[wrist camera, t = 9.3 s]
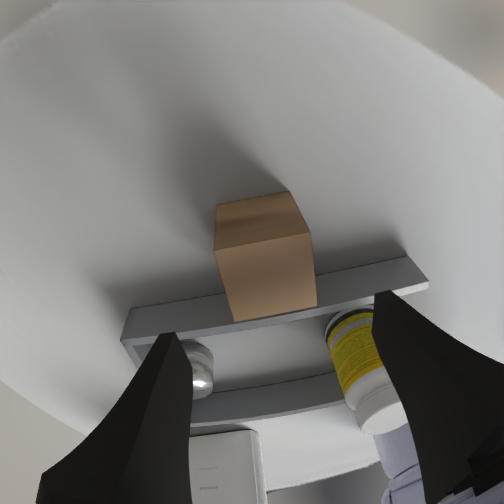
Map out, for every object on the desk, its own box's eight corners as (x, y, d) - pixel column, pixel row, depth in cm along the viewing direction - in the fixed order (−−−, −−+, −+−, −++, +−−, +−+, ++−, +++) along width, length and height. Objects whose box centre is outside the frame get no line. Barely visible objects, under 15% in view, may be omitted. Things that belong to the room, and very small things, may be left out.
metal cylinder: (218, 368, 24) (218, 396, 22) (176, 373, 24) (173, 401, 22) (205, 338, 22) (204, 367, 20) (160, 344, 23) (154, 373, 20)
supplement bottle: (311, 338, 23) (337, 436, 16) (350, 293, 21) (396, 390, 14) (356, 353, 24) (388, 439, 17) (394, 313, 23) (441, 399, 15)
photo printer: (255, 424, 29) (265, 535, 19) (264, 440, 31) (275, 539, 21) (164, 435, 30) (157, 536, 19) (180, 450, 32) (177, 541, 22)
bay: (392, 360, 26) (404, 385, 23) (182, 399, 26) (179, 427, 24) (408, 255, 20) (429, 281, 17) (130, 309, 21) (119, 340, 18)
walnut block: (298, 252, 19) (317, 305, 15) (232, 265, 19) (234, 321, 15) (289, 190, 17) (310, 232, 13) (217, 204, 17) (213, 251, 13)
